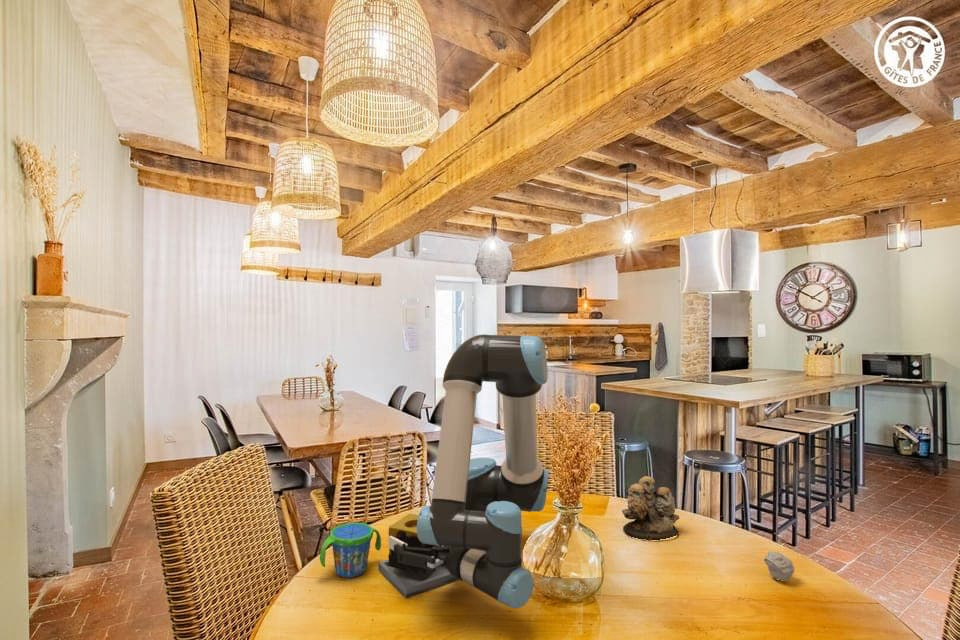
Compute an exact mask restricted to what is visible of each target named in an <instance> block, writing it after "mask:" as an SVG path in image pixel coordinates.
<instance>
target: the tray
mask: <svg viewBox="0 0 960 640" xmlns="http://www.w3.org/2000/svg"><path fill="white" fill-rule="evenodd" d="M388 564H389V559H386V560H382V561H378V566H377V569H378V570H379V571H380V572H381V573H382V574H383V575H382V576H383V577H384V578H385V579H386V580H387V581H388V582H389V583H390V584H391V585H392V586H393V588H395V589H396V590H397V591H398V592H399V593H400V594H401V595H402V597H404V598H405V599H407V598H410V597H413V596H416V595H420V594H422V593H424V592H427V591H431V590H433V589H435V588H439V587H441V586H445V585H447V584H450V583H452V582H456V581H458V580H459V579H458V578H456V577H454V576H452V575H451V574H450V572H449V571H448V569H447V568H446V567H444V566H440V565H438V566H437V567H436V570H435V571H434V572H431V571H429V570H427V571H426V572H425V573H424V574H421V575H420V574H416V573H413V572H409V571H405V570H401V569H397V568H393V567H390V566H389V565H388ZM378 570H377V571H378ZM379 571H378V572H379ZM380 572H379V573H380ZM381 573H380V574H381Z"/></svg>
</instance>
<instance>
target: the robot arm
mask: <svg viewBox="0 0 960 640" xmlns="http://www.w3.org/2000/svg"><path fill="white" fill-rule="evenodd" d="M548 372H549V371H548V360H547V353H546V346H545V343H544V341H543V339H542V338H540V337H539V336H533V335H526V334H522V335H513V334H512V335H510V334H509V335H507V334H505V335H504V334H503V335H502V334H478V335H474V336H472V337H469V338H468V339H467V340H465V341H464V342H463V343H462V344H460V345H459V346H458V347H457V348H456V350H455V351H454V352H453V354H452V355H451V357H450V359H449V360H448V363H447V365H446V367H445V370H444V374H443V378H442V387H443V389H444V390H445V396H444V404H443V411H442V419H441V425H440V434H439V442H438V446H437V455H436V464H435V471H434V479H433V484H432V486H433V487H432V491H431V492H432V494H431V504H430V505H428V506H422V508H421V510H420V511H419V513H418V515H419V518H418V521H417V536H418V539H419V540H420V541H421V542H422V543H425V544H431V545H437V546H442V547H432V548H418V547H408V544H406V543H404V542H402V541H400V540H399V539H397V538H395V537H393V536H389V535H388V549H389V548H390V549H392V550H394V552H395V553H397V554H398V563H401V564H406V565H411V566H415V567H420V568H424V569H427V570H429V571H431V572H434V571H435V570H436V567H437V566H438V565H440V566H444V567H446V568H447V569H448V571H449V572H450V574H451V575H452V576H454V577H456V578H458V580H459V581H462V582H463V583H466V584H468V585H469V586H471V587H473V588H474V589H477V590H479V591H480V592H482V593H484V594H486V595H487V596H489V597H490V598H493V599H494V600H496V601H498V603H500V604H503V605H505V606H507V607H510V608H512V609H520V608H522V607H523V606H525V605H526V604H527V603H528V602H529V600H530V598H531V595H532V594H533V589H534V579H533V576H532V574H531V572H530V571H529V570H527V569H526V568H525V567H523V566H522V562H523V561H522V541H523V540H522V539H523V538H522V536H523V535H522V533H523V525H522V512H528V513H530V512H541V511H543V510H544V508H545V506H546V501H547V499H546V498H547V492H548V485H549V469H547V468H545V467H544V466H543V463H542V462H541V460H540V459H539V458H538V431H537V429H538V426H537V425H538V424H537V422H538V421H537V394H538V393H539V392H540V391H541V390H542V386H543V385H545V384H546V383H547V382H548V378H549V377H548ZM483 382H487V383H490V382H491V383H495V388H496V391H497V392H498V393H499V394H500V395H502V409H503V410H502V412H503V414H502V415H503V426H504V427H503V428H504V429H503V430H504V447H505V459H504V460H503V462H502V464H501V465H498V464H497V462H496V460H495V459H494V458H493V457H491V458H490V457H475V458H471V453H472V445H473V444H472V443H473V435H474V427H475V426H474V424H475V418H476V417H475V415H476V406H477V395H478V394H479V393H480V392H482V388H483V387H482V386H483ZM435 551H437V559H435Z"/></svg>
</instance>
